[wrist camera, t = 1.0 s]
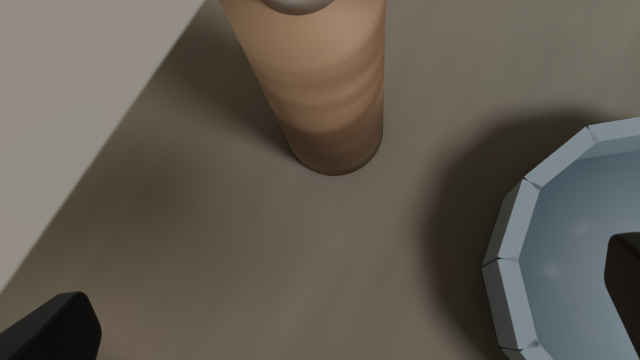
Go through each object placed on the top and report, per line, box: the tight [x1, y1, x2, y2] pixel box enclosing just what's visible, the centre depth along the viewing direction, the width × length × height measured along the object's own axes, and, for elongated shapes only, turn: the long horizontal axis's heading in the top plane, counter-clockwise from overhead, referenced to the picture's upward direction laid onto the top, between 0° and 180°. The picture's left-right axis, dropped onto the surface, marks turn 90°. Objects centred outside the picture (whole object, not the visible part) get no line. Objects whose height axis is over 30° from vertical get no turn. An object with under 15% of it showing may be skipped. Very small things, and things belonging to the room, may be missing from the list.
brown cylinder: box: [220, 0, 385, 176], centre depth 18 cm, size 4×4×12 cm
